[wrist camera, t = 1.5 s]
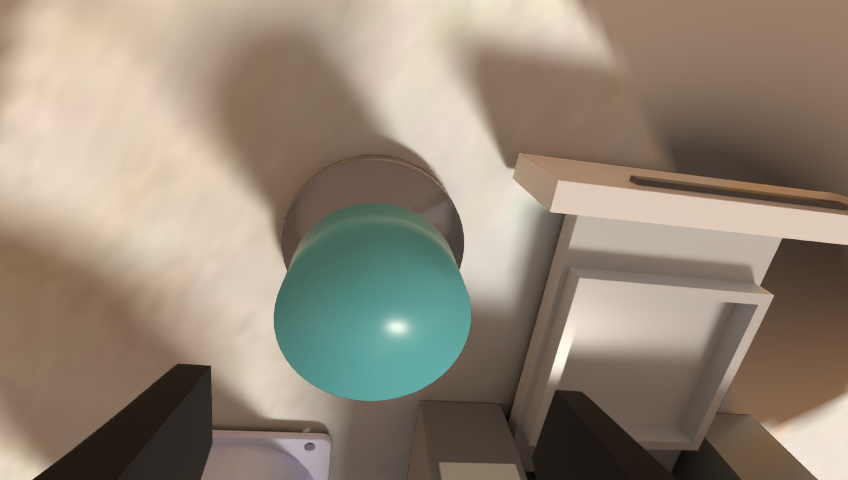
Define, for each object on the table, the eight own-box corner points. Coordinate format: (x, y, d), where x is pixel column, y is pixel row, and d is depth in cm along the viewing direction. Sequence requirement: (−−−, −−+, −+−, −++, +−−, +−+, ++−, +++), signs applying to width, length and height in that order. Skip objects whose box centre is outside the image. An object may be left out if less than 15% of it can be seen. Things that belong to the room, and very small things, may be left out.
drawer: (451, 453, 23) (466, 530, 19) (519, 147, 17) (559, 173, 13) (700, 459, 25) (756, 530, 21) (835, 188, 19) (946, 221, 15)
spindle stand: (283, 310, 19) (264, 362, 16) (288, 144, 16) (267, 166, 13) (445, 321, 20) (459, 372, 17) (474, 167, 17) (497, 193, 14)
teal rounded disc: (287, 346, 16) (271, 396, 13) (292, 193, 13) (276, 222, 11) (442, 354, 16) (453, 404, 14) (470, 212, 14) (488, 243, 12)
